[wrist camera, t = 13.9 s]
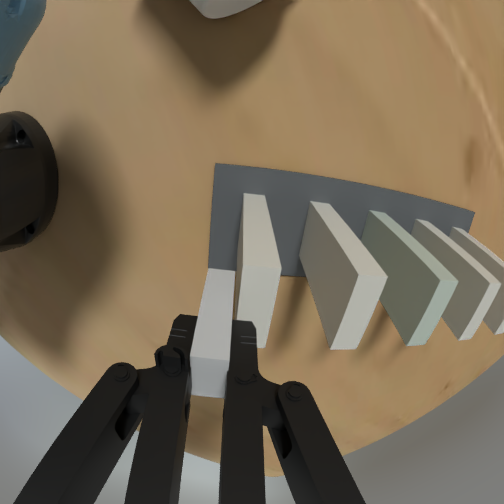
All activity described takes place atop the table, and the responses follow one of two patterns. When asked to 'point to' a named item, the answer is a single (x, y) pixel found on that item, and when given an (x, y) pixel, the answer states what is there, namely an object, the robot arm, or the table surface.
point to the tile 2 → (339, 276)
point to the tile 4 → (466, 272)
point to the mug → (222, 7)
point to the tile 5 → (500, 312)
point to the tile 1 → (256, 267)
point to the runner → (297, 204)
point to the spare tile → (408, 278)
